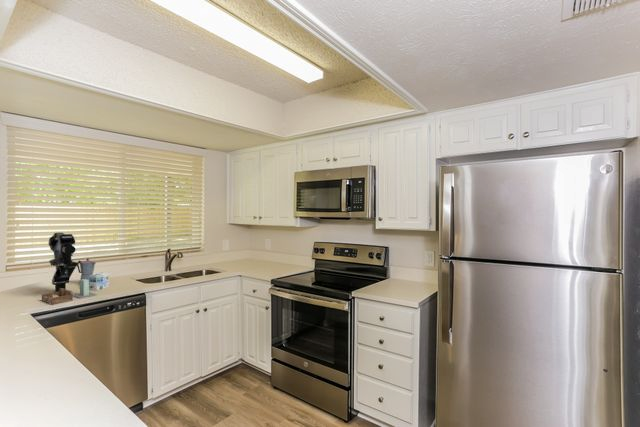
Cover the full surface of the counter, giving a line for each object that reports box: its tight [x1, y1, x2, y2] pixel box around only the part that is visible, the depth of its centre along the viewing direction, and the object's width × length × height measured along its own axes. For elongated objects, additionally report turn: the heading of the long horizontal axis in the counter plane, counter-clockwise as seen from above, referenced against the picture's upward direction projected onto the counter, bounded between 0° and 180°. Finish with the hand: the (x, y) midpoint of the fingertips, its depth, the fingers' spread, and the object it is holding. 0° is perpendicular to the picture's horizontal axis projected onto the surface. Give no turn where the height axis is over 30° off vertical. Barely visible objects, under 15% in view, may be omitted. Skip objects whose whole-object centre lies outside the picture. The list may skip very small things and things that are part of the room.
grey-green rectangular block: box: [79, 279, 90, 296], centre depth 217 cm, size 6×3×10 cm, turn 59°
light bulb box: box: [89, 272, 110, 291], centre depth 237 cm, size 11×7×11 cm, turn 168°
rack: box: [41, 288, 74, 306], centre depth 204 cm, size 16×10×6 cm, turn 58°
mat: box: [73, 291, 98, 299], centre depth 217 cm, size 12×10×1 cm
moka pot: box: [76, 258, 96, 286], centre depth 250 cm, size 10×15×20 cm, turn 89°
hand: (65, 276), depth 216 cm, fingers open, 9 cm apart
